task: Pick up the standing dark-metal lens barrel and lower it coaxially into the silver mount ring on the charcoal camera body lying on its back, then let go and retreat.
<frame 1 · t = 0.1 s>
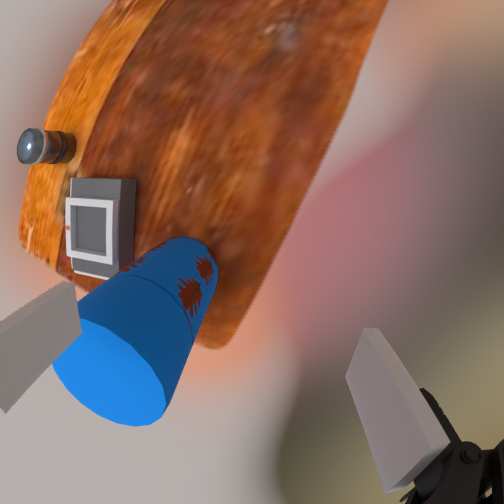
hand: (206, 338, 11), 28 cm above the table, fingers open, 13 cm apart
lens: (65, 148, 35), on the table
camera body: (110, 222, 38), on the table
thermos: (184, 270, 40), on the table
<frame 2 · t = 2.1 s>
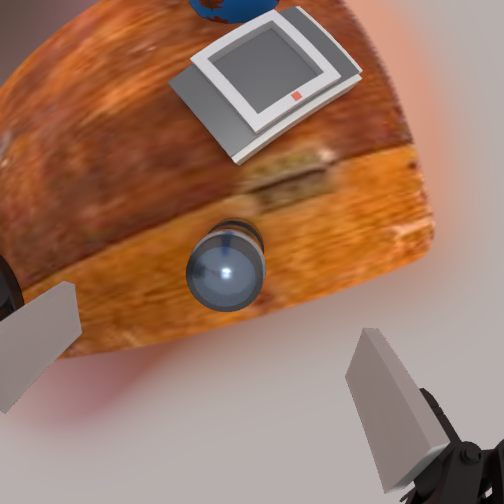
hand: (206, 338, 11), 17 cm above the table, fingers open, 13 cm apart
lens: (236, 243, 28), on the table
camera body: (264, 87, 23), on the table
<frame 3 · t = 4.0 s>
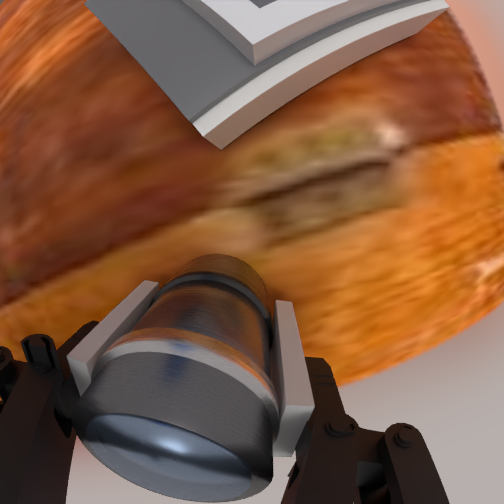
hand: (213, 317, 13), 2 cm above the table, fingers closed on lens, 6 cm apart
lens: (218, 301, 14), on the table, touching gripper
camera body: (271, 13, 10), on the table
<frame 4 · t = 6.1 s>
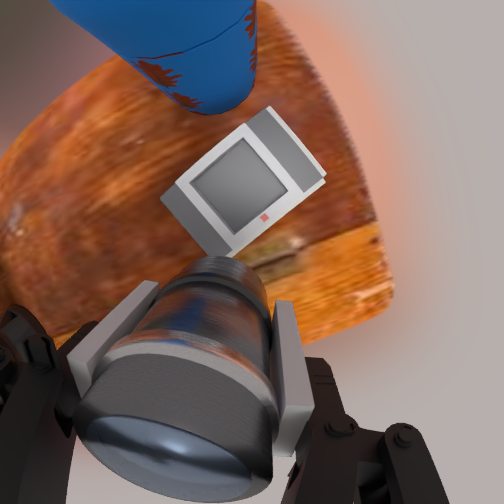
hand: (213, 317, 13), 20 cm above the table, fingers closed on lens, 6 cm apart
lens: (218, 302, 14), point 19 cm above the table, touching gripper
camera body: (242, 185, 31), on the table
thermos: (212, 77, 28), on the table
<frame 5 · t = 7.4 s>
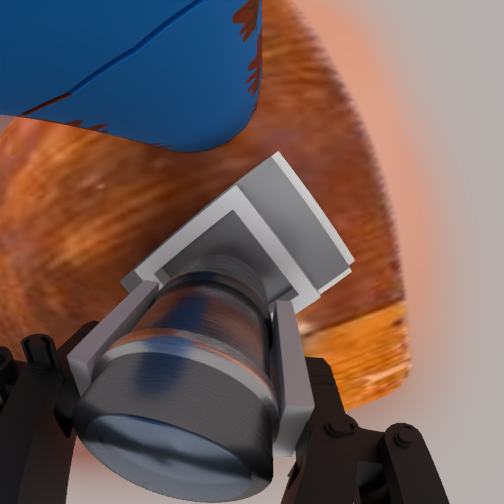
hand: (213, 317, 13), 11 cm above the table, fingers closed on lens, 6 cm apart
lens: (218, 301, 14), point 9 cm above the table, touching gripper
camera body: (234, 256, 23), on the table
thermos: (196, 94, 20), on the table
when the fingers open (8 cm above the table, at t = 8.3 s): lens stays where it is, resting on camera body.
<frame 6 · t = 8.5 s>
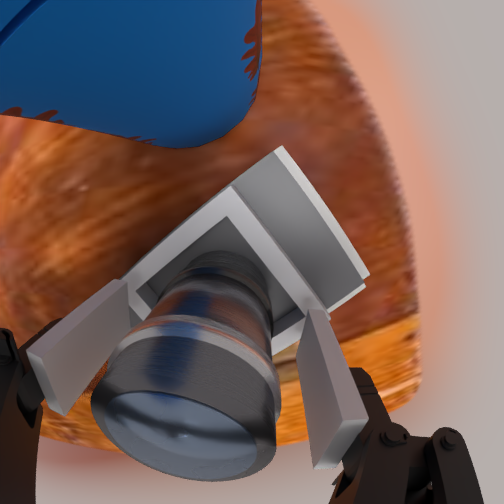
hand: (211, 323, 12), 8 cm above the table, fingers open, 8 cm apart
lens: (222, 294, 15), point 5 cm above the table, touching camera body
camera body: (230, 266, 20), on the table
thermos: (188, 83, 17), on the table
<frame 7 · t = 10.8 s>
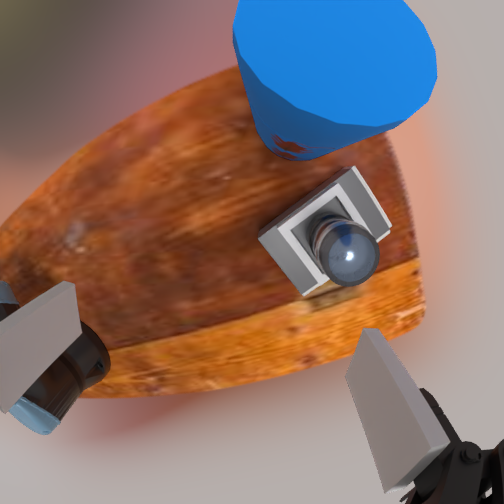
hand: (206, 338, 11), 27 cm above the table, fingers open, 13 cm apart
lens: (327, 233, 31), point 5 cm above the table, touching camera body
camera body: (319, 226, 36), on the table
thermos: (296, 123, 33), on the table
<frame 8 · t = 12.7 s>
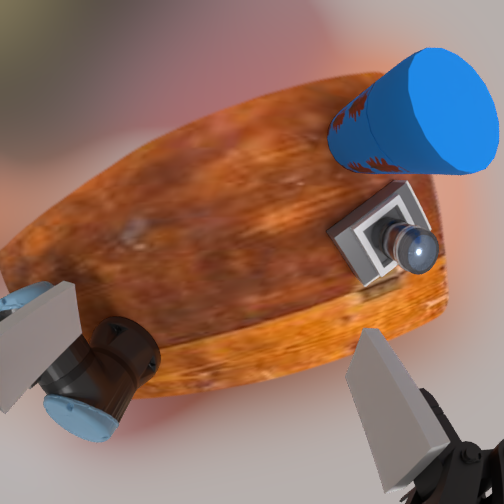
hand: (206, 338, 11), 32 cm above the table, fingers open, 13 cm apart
lens: (387, 234, 36), point 5 cm above the table, touching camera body
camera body: (374, 228, 41), on the table
thermos: (358, 140, 38), on the table
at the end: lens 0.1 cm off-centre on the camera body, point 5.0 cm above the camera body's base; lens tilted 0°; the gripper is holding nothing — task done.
